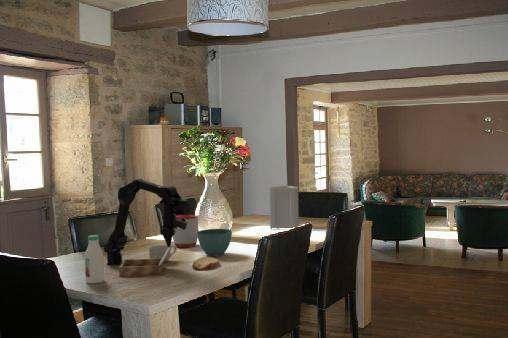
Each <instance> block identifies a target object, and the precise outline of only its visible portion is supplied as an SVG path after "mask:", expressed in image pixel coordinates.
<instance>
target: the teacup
mask: <svg viewBox="0 0 508 338" xmlns="http://www.w3.org/2000/svg"><path fill="white" fill-rule="evenodd" d="M168 248H169V247H168V246H167V244H159V245H151V246H149V247H148V255H149V256H148V257H149V259H156V258H163V257H164V255H165V253H166V251H167V250H168ZM172 248H173V249H174V250H173V251H171V250H172ZM176 252H177V247H176V246H175V244H174V245H173V244H172V245H171V248H170V249H169V251H168V253H167V255H166V257H165V258H164V260H163V263H166V262H168V261H169V260H170V258H171V257H172V256H173V255H174V254H175V253H176Z"/></svg>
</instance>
